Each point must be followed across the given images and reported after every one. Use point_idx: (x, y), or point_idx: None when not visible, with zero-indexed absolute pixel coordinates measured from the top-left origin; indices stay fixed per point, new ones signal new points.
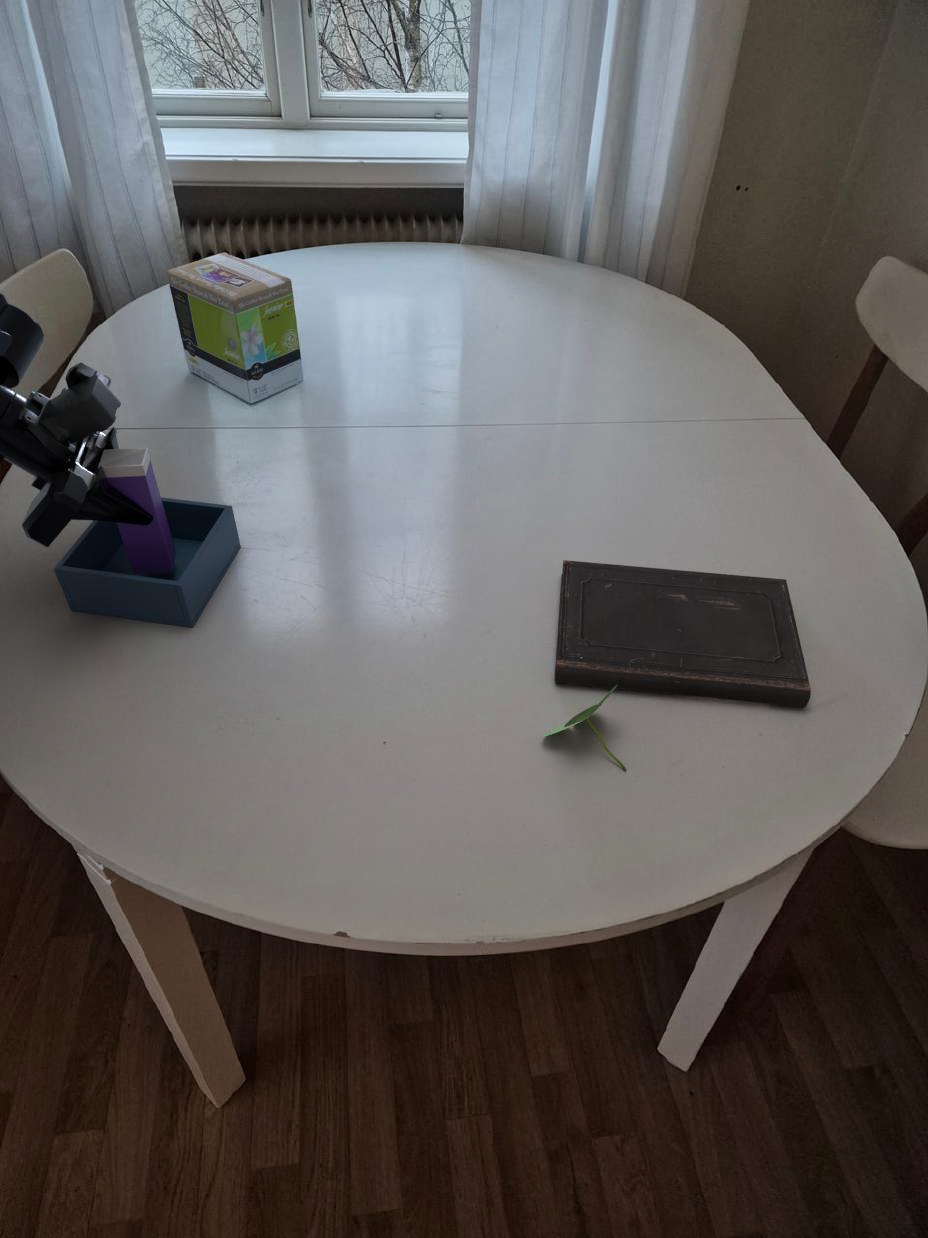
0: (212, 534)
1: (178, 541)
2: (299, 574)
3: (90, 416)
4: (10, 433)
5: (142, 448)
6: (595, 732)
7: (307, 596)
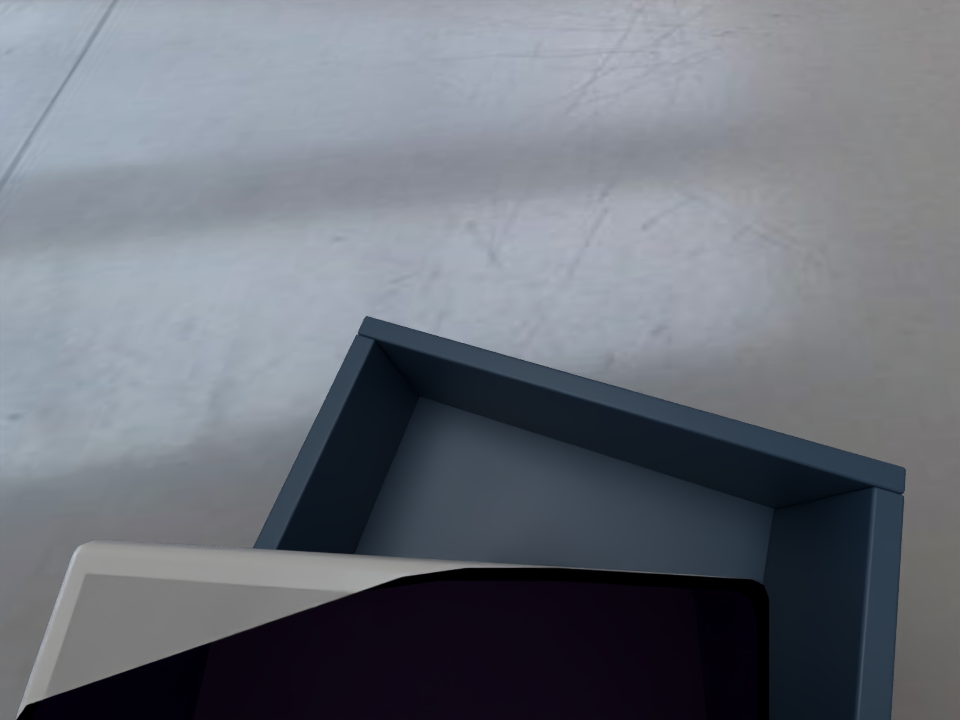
0: (539, 369)
1: None
2: (556, 237)
3: None
4: None
5: (65, 660)
6: None
7: (644, 216)
